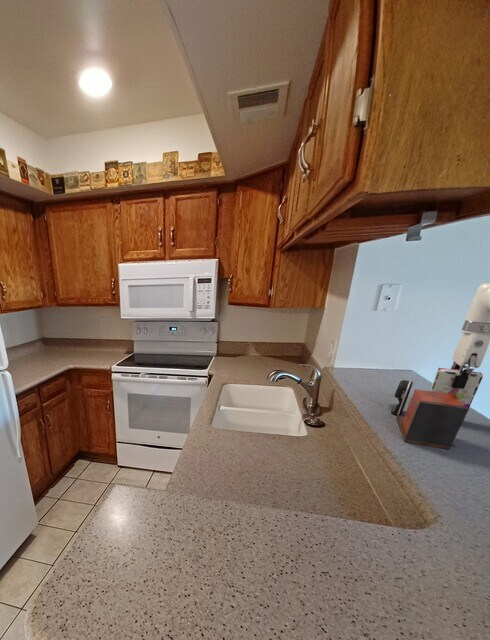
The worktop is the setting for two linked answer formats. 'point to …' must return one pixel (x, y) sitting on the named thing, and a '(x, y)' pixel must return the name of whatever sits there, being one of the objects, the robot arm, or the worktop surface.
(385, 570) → the worktop surface
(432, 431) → the wooden speaker
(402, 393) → the battery charger
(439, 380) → the candy bar box
